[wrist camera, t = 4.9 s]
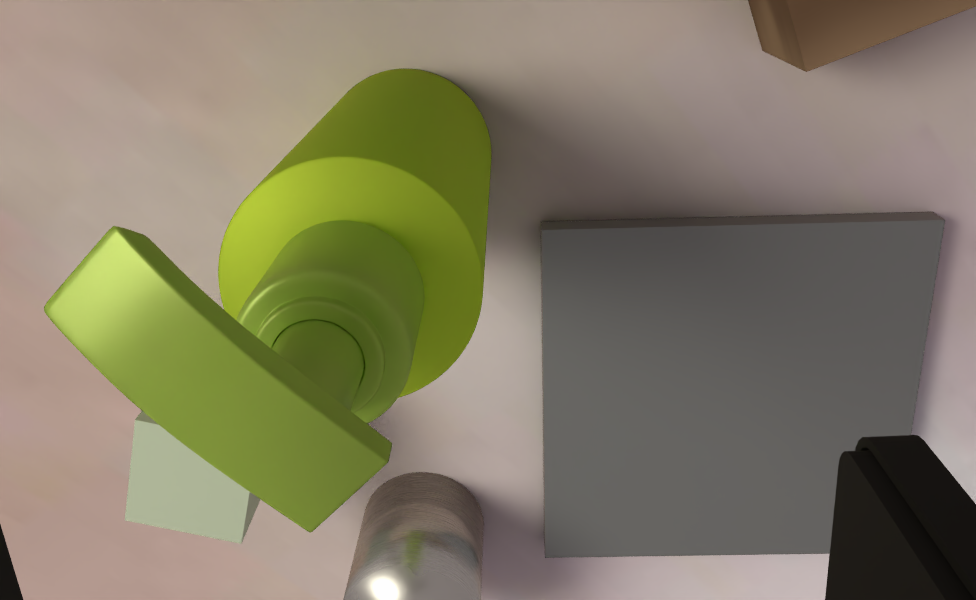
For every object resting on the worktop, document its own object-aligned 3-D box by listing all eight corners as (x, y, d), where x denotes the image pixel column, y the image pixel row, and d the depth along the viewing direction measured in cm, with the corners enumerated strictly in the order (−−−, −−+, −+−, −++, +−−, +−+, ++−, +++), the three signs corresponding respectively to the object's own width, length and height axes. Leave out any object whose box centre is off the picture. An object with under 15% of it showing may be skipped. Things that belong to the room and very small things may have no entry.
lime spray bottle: (379, 8, 31) (187, 132, 12) (526, 152, 32) (552, 451, 14) (268, 133, 32) (-51, 410, 14) (413, 264, 34) (302, 665, 16)
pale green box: (193, 343, 36) (135, 419, 30) (295, 365, 36) (257, 445, 30) (182, 431, 37) (124, 520, 31) (280, 452, 37) (241, 543, 32)
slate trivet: (540, 221, 33) (541, 230, 32) (932, 211, 33) (945, 219, 32) (544, 542, 39) (545, 557, 38) (882, 537, 38) (892, 552, 37)
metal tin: (359, 473, 38) (333, 568, 32) (481, 471, 37) (477, 565, 32) (368, 573, 39) (346, 679, 34) (485, 571, 39) (482, 678, 34)
